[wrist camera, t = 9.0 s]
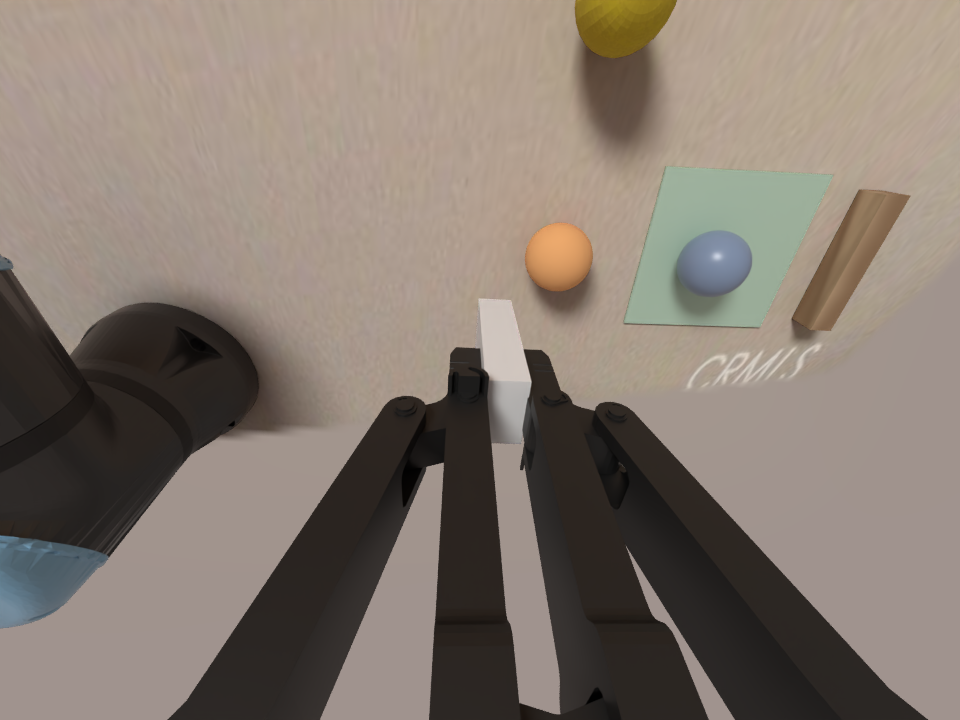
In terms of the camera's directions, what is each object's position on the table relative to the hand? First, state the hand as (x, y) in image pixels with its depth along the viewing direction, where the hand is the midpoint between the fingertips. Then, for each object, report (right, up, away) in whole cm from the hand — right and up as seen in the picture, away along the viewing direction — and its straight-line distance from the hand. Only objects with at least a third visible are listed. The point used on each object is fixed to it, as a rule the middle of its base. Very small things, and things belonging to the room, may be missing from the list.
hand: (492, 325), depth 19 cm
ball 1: (+6, +7, +14) cm, 16 cm away
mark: (+21, +8, +17) cm, 28 cm away
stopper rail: (+32, +8, +17) cm, 37 cm away
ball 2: (+19, +7, +14) cm, 25 cm away
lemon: (+8, +22, +8) cm, 25 cm away
